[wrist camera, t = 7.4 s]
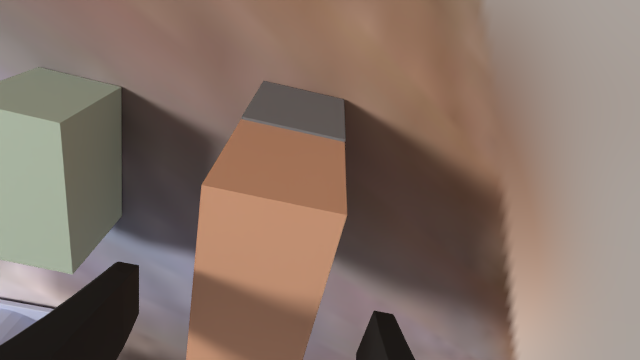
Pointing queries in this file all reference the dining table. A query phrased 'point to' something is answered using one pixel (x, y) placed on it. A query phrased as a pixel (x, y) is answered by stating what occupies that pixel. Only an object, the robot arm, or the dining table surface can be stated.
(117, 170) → the sage block
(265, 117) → the charcoal block
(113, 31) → the dining table surface
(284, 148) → the terracotta block
